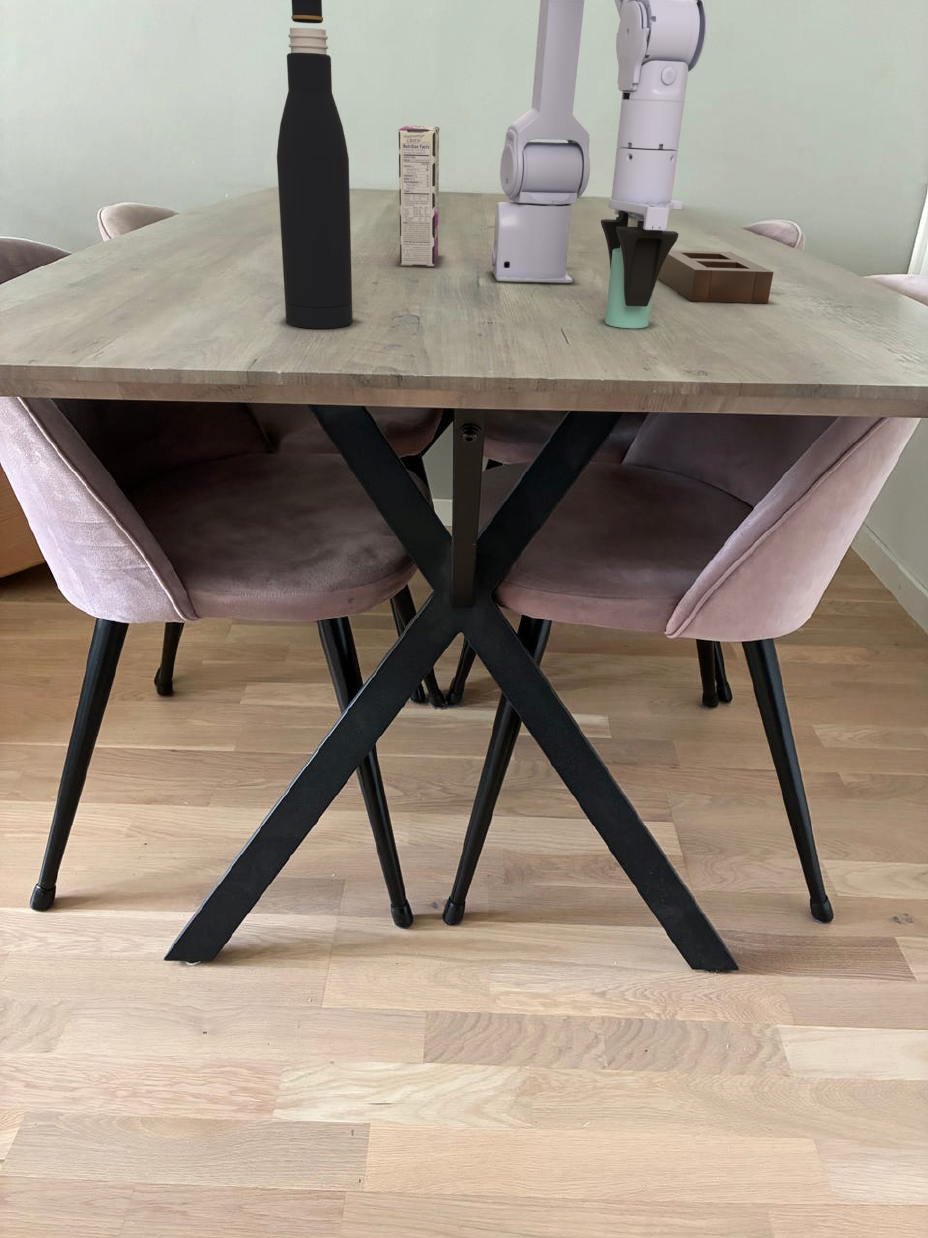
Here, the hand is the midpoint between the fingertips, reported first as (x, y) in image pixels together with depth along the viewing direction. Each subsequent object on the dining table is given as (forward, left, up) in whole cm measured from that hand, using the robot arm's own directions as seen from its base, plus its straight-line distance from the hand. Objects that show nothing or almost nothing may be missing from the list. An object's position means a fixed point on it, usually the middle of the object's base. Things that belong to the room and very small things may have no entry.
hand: (629, 299), depth 93 cm
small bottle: (0, 0, -2) cm, 2 cm away
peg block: (+15, +22, -2) cm, 27 cm away
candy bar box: (-21, +39, -3) cm, 44 cm away
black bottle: (-31, -3, -3) cm, 31 cm away
